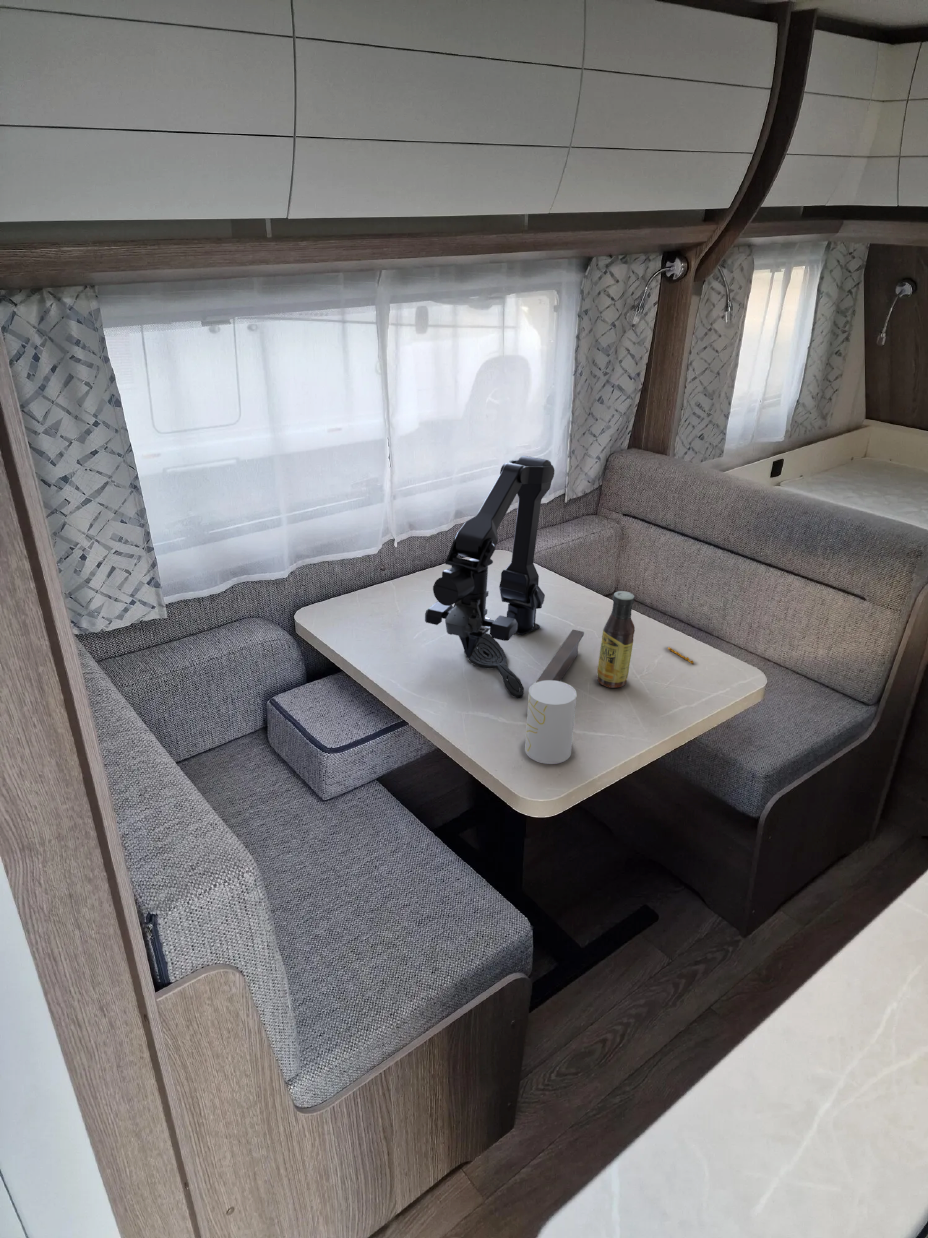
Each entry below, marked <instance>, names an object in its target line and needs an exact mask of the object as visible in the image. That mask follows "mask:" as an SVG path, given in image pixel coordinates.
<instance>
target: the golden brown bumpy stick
mask: <svg viewBox="0 0 928 1238" xmlns="http://www.w3.org/2000/svg"><path fill="white" fill-rule="evenodd" d="M667 649H668V651H670V652H672V653H673V654H675V655H677V656H678V657H680V658H682V659H683V660H685V661H687V662H688V663H690V664H694V662H695V661H693V660H691V659H690V658H689V656H687V657H685V656H684V655H682V654H681V653H680V652H678V651H676V650H675V649H673V648H672V647H670V646H669V647H667Z"/></svg>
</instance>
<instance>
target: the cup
mask: <svg viewBox="0 0 928 1238" xmlns="http://www.w3.org/2000/svg"><path fill="white" fill-rule="evenodd" d="M577 695H578V694H577V691H576V689H575V688H574V687H573V686H572V685H570V684H569V683H566V682H564V681H554V680H545V681H540V682H537V683H536V682H535V683H533V684H531V685H530V686H529V688H528V698H527V699H528V701H527V702H528V703H527V714H526V727H525V728H526V729H525V745H524V752H525V754H526V756H528V757H529V758H530V759H531V760H532V761H534V762H537V763H541V764H544V765H556V764H557V765H558V764H561V763H563V762H566V761H567V760H568V759H570V757H571V755H572V747H573V746H572V745H573V735H574V725H575V714H576V706H577V705H576V703H577Z"/></svg>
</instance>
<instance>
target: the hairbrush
mask: <svg viewBox="0 0 928 1238" xmlns="http://www.w3.org/2000/svg"><path fill="white" fill-rule="evenodd" d="M463 653H464V654H465V651H464V650H463ZM507 658H508V657H507V654H506V653H505V650H504V649H503V648H502V646H501V645H500V643H499V642H498V641H497V639H494V638H493V637H492V636H491V635H490V633H488V632H487V633H486V634H485V635H484V636H483V637H481V638H480V639H479V641H478V643H477V645H476V647H475V649H474V651H473V653H472V655H471V657H470V658H467V659H468V661H469V663H470V664H472V665H474V666H475V667H478V668H481V669H487V670H488V669H489V670H497V672H498V673H499V675H500V677H501V678H502V681H503V685H504V687H505V689H506V690H507V692H508V693H509V694H510V695H511V696H512V697H514V698H516V699H517V700H519V699H522V698H523V697H524V694H525V693H524V691H525V688H524V685H523V683H522V681H521V679H520V678H519V676H517V675H516V674H515V672H513V671H512V670H511V669H510V668H509V666H507V660H508V659H507Z"/></svg>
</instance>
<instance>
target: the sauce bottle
mask: <svg viewBox="0 0 928 1238" xmlns="http://www.w3.org/2000/svg"><path fill="white" fill-rule="evenodd" d="M612 602H613V603H612V610H611V613H610V615H609V617H608V618H607V621H606V623H605V625H604V627H603V628H602V633H601V634H602V635H601V642H600V648H599V656H598V664H597V671H596V673H597V677H596V678H597V682H598V683H599V684H600V685H602V686H604V687H606V688H609V689H618V688H622V687H624V686H625V685H626V684H627V681H628V676H629V673H630V672H629V671H630V666H631V665H630V663H631V657H632V651H633V647H634V646H633V645H634V636H635V630H636V628H635V623H634V622H633V619H632V611H633V610H632V609H633V605H634V603H635V595H634V594H633V593H632V592H629V591H626V590H625V591H624V590H619V591H616V592H614V593H613V596H612Z"/></svg>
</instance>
